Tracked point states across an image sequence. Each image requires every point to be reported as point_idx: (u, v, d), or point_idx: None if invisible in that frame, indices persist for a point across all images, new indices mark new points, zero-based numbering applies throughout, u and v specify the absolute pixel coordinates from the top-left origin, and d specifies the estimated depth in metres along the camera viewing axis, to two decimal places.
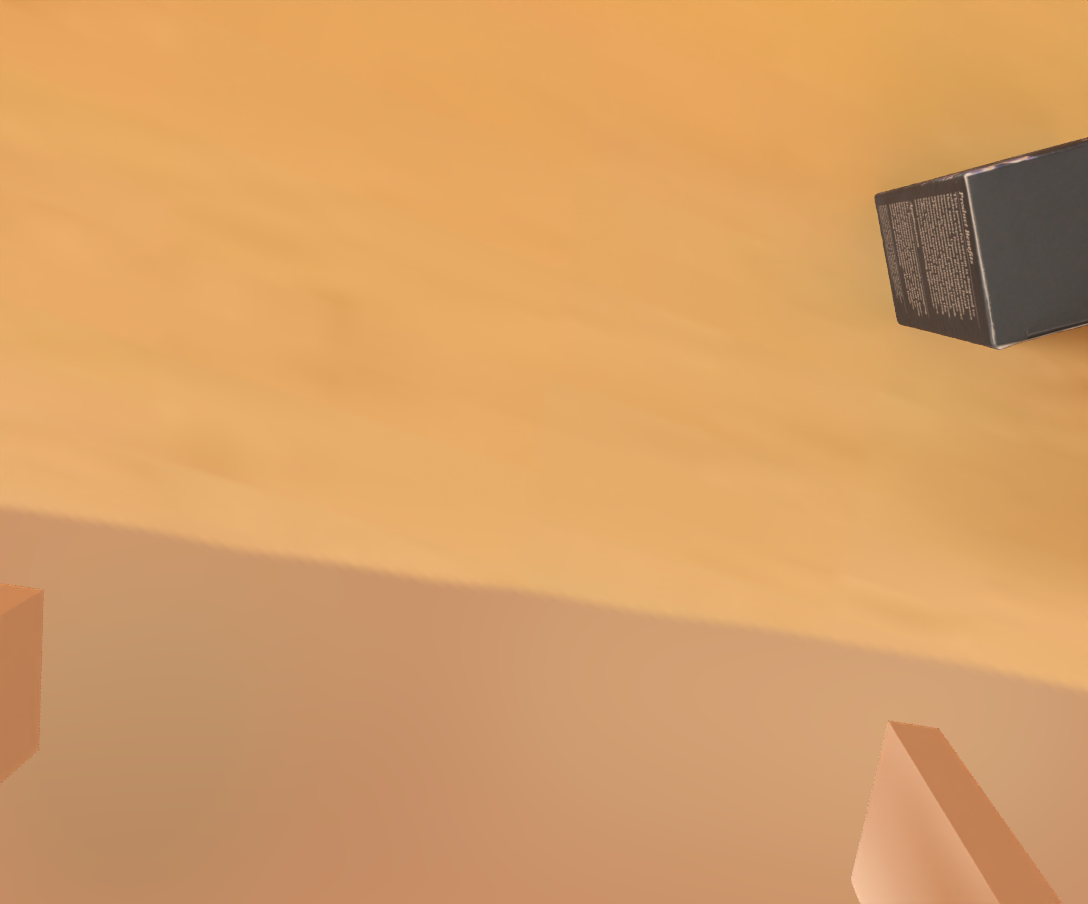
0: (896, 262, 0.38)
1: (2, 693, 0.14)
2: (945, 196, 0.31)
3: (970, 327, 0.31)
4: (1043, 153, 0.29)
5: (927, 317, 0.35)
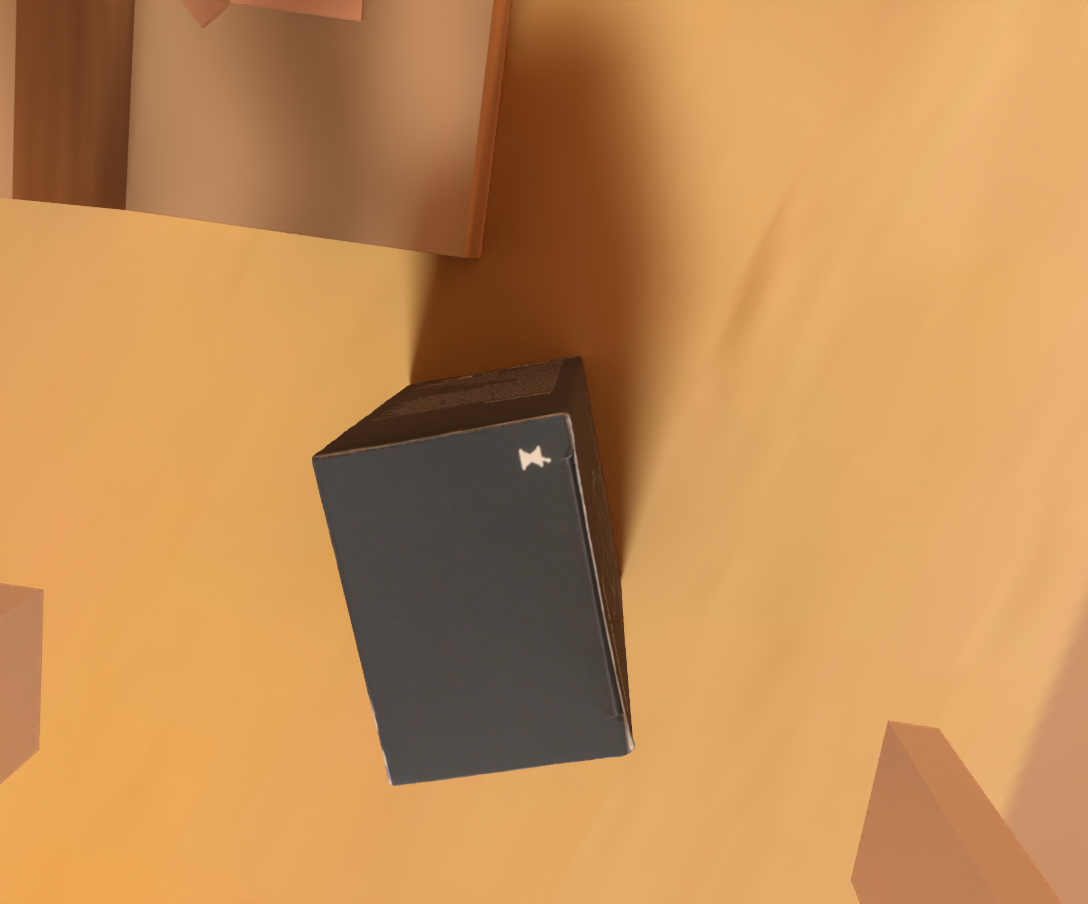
0: None
1: (2, 693, 0.14)
2: None
3: None
4: (367, 689, 0.21)
5: None
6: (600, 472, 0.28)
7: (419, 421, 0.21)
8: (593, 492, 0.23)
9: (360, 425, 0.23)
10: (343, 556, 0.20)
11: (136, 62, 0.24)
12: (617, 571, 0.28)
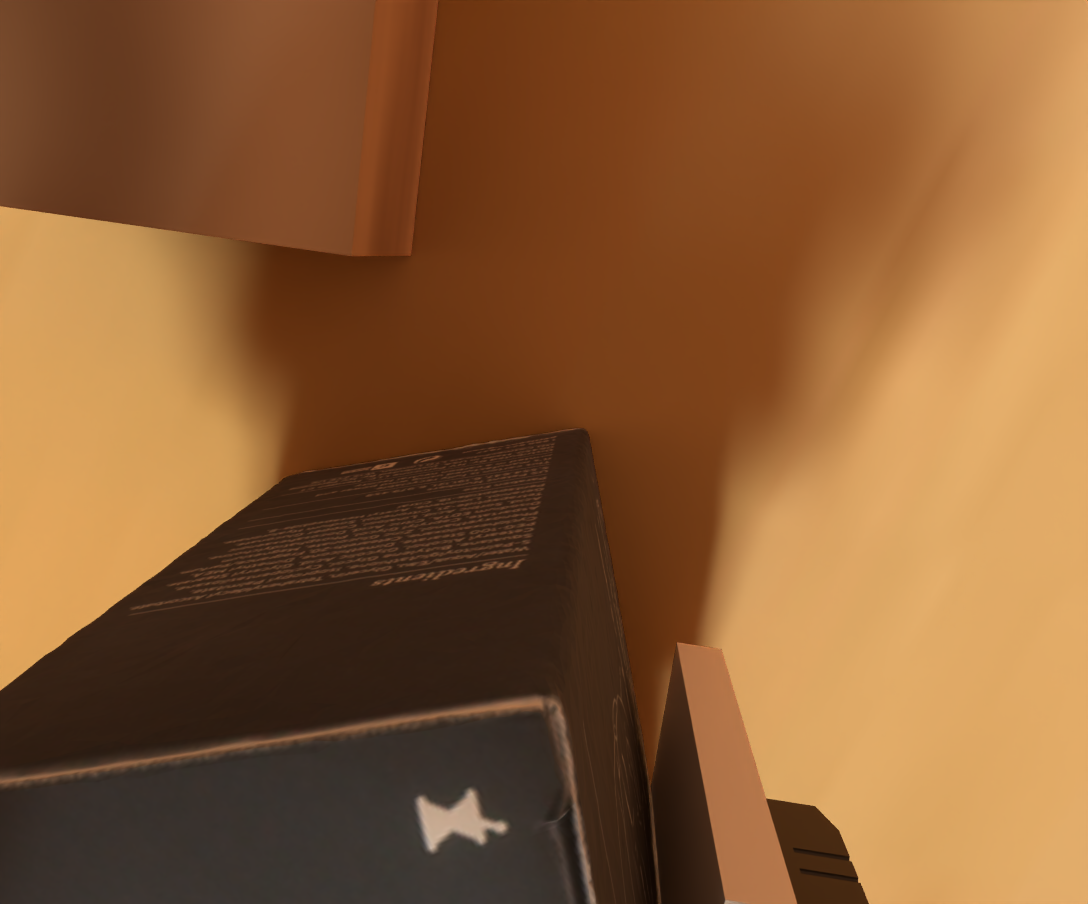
0: None
1: None
2: None
3: None
4: None
5: None
6: (622, 645, 0.15)
7: (199, 650, 0.09)
8: (616, 778, 0.10)
9: (96, 629, 0.10)
10: None
11: None
12: (650, 814, 0.16)
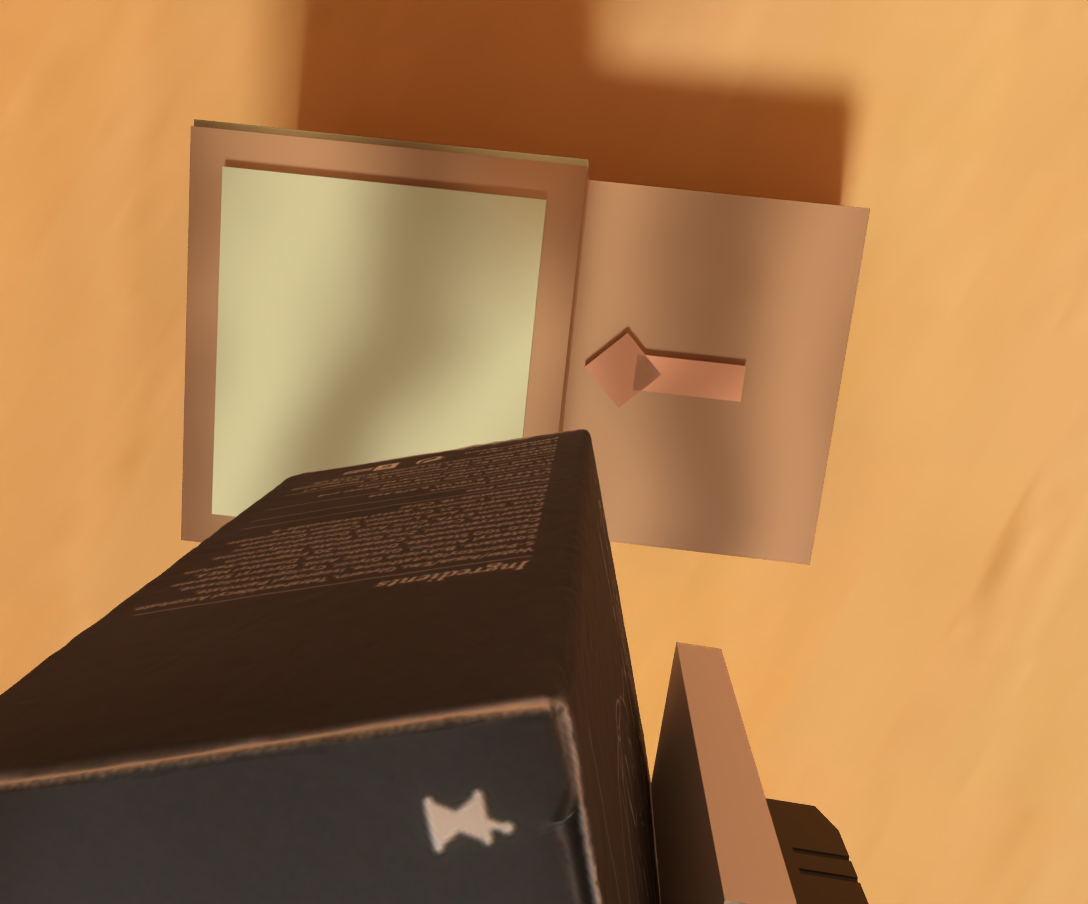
0: None
1: None
2: None
3: None
4: None
5: None
6: (624, 646, 0.15)
7: (204, 651, 0.09)
8: (620, 779, 0.10)
9: (100, 629, 0.10)
10: None
11: None
12: (652, 815, 0.16)
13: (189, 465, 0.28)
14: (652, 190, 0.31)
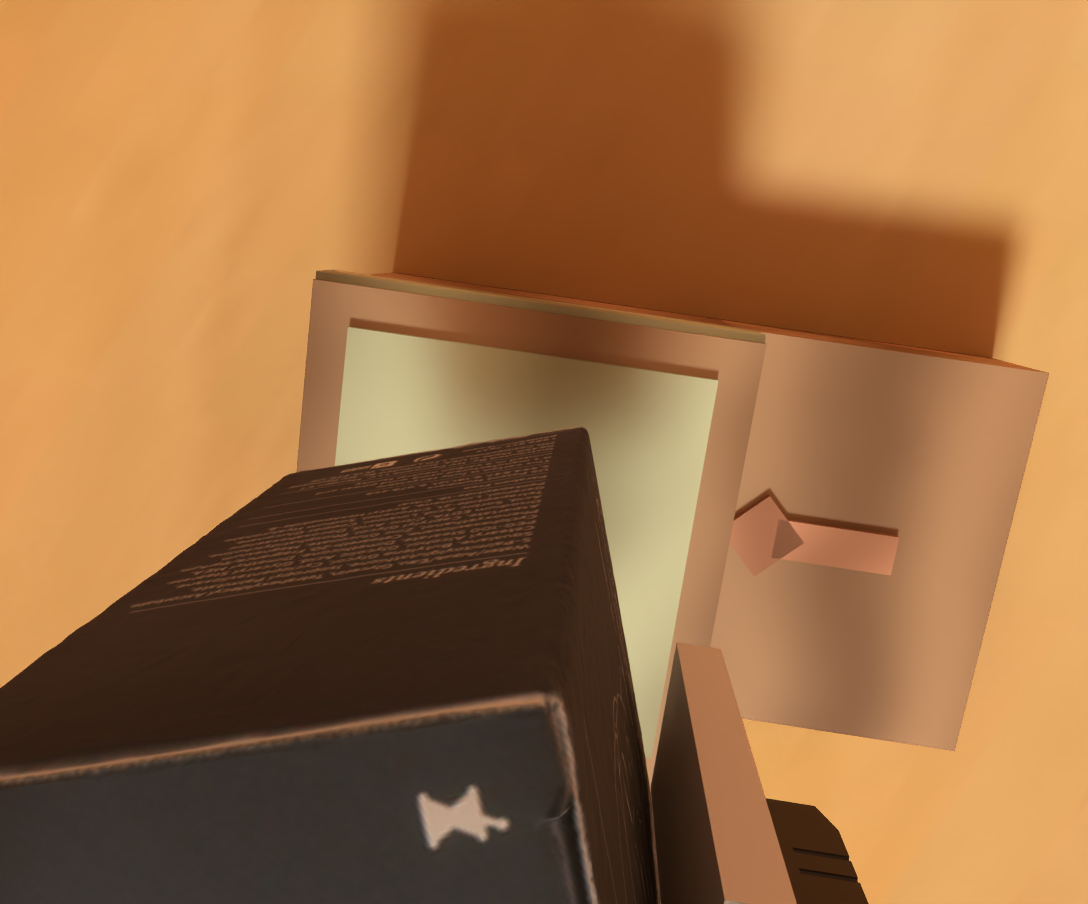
0: None
1: None
2: None
3: None
4: None
5: None
6: (621, 644, 0.15)
7: (199, 648, 0.09)
8: (616, 776, 0.10)
9: (96, 627, 0.10)
10: None
11: None
12: (650, 813, 0.16)
13: None
14: (806, 342, 0.28)
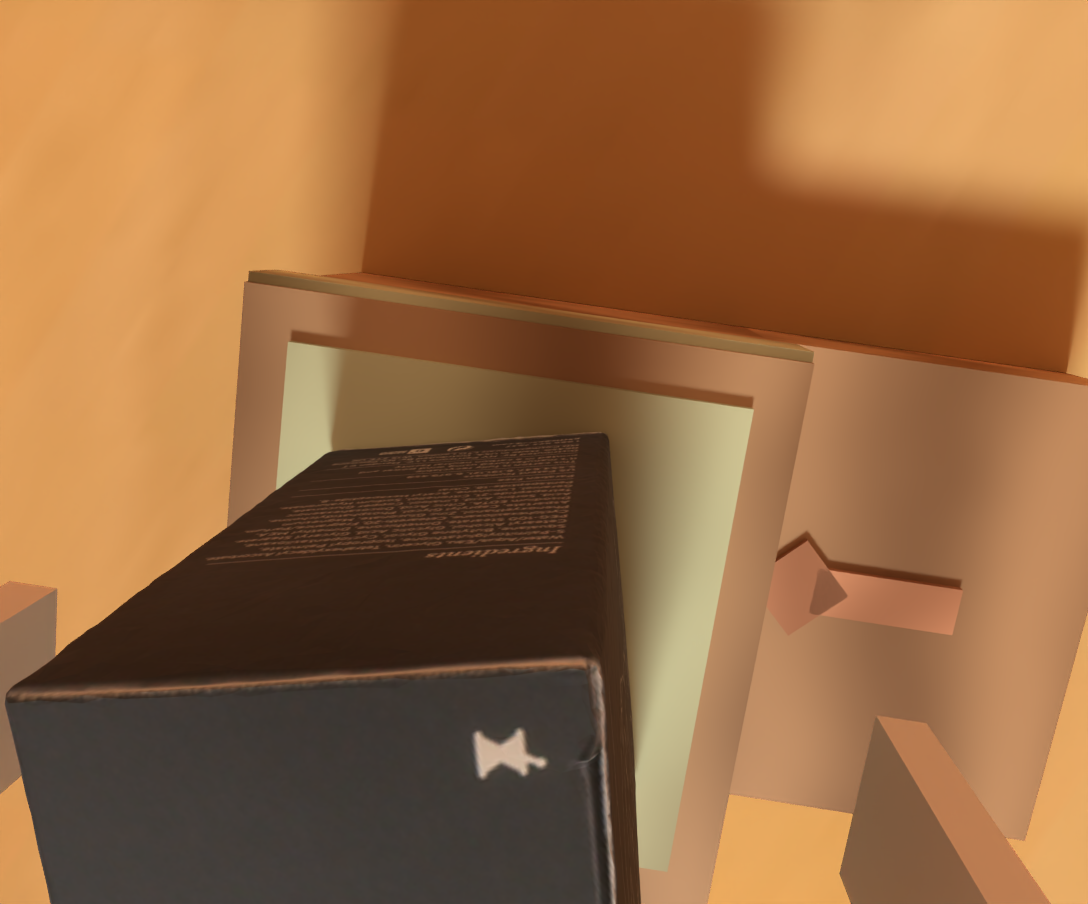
0: None
1: None
2: None
3: None
4: None
5: None
6: (624, 634, 0.17)
7: (280, 599, 0.10)
8: (621, 743, 0.12)
9: (179, 574, 0.11)
10: None
11: None
12: (635, 790, 0.17)
13: None
14: (853, 357, 0.23)
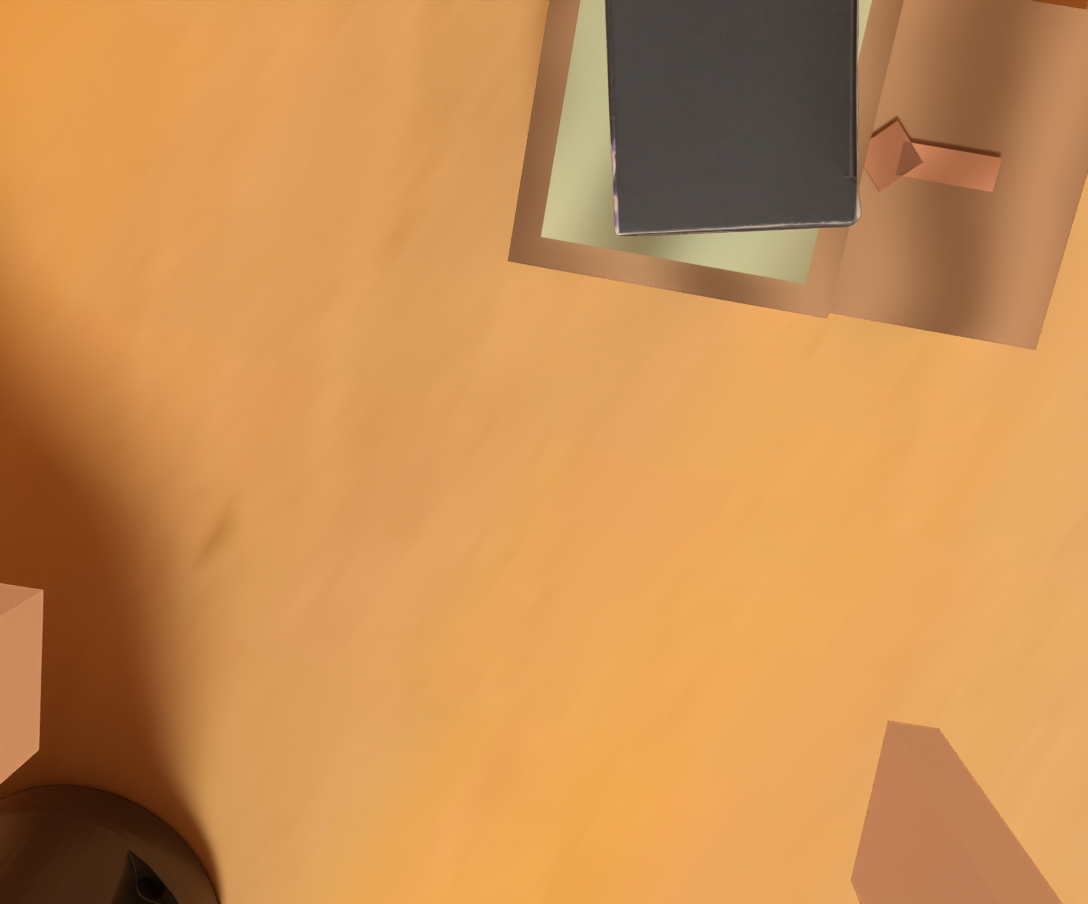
0: None
1: (2, 693, 0.14)
2: None
3: None
4: (612, 129, 0.22)
5: None
6: None
7: None
8: None
9: None
10: None
11: None
12: None
13: (524, 192, 0.32)
14: None
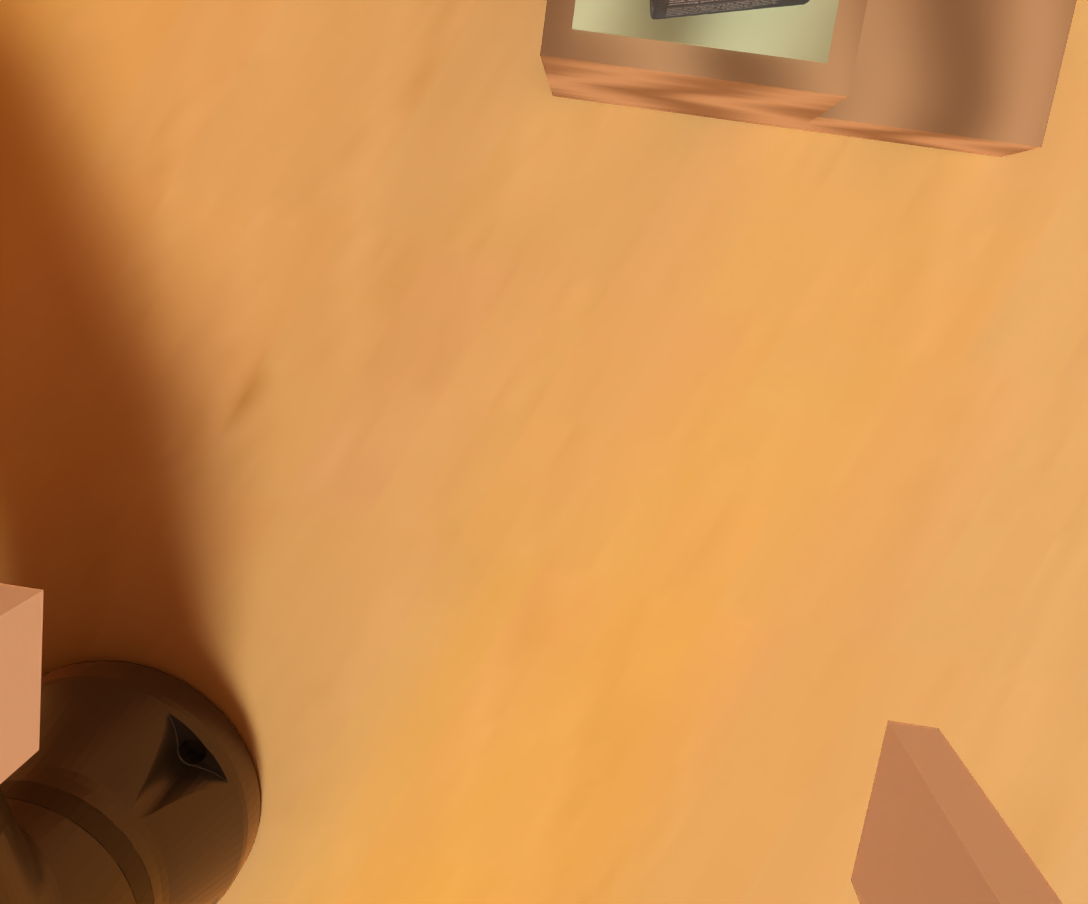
0: (737, 1, 0.31)
1: (2, 693, 0.14)
2: None
3: None
4: None
5: None
6: None
7: None
8: None
9: None
10: None
11: None
12: None
13: None
14: None
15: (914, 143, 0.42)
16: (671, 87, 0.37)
